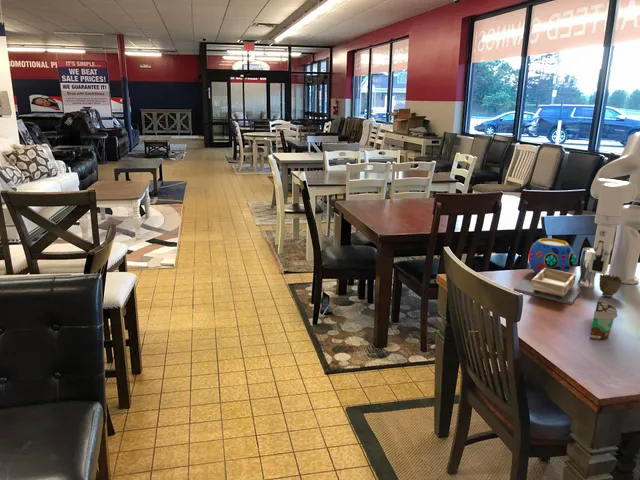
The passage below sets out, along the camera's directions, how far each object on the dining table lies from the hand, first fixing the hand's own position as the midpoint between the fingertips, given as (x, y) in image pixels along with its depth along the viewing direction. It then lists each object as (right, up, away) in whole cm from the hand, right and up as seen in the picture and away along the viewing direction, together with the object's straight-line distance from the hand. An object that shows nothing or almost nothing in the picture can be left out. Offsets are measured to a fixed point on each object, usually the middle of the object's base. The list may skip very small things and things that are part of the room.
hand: (598, 268), depth 180 cm
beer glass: (+9, -9, +25) cm, 28 cm away
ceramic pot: (-2, -5, +35) cm, 36 cm away
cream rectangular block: (0, -1, 0) cm, 1 cm away
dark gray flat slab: (-11, -10, +16) cm, 22 cm away
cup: (+11, -12, +14) cm, 21 cm away
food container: (-9, -21, -18) cm, 29 cm away
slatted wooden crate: (-10, -10, +15) cm, 20 cm away
